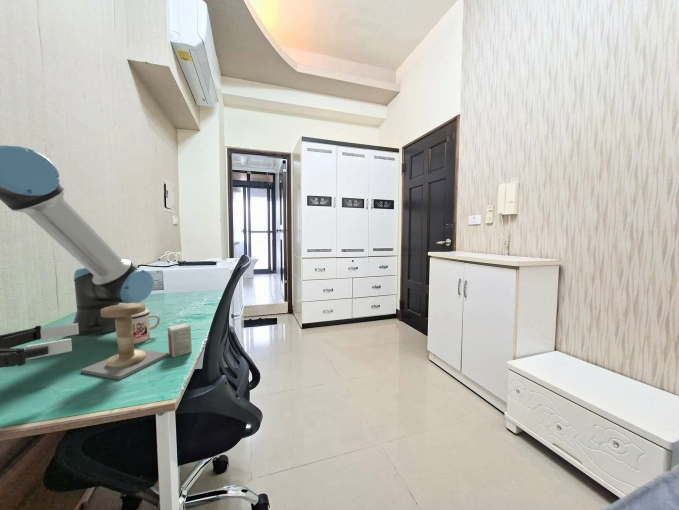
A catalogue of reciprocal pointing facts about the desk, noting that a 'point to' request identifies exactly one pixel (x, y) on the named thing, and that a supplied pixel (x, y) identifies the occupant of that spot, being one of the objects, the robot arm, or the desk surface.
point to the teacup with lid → (141, 326)
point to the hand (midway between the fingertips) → (75, 335)
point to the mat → (120, 373)
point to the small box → (179, 339)
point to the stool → (124, 334)
